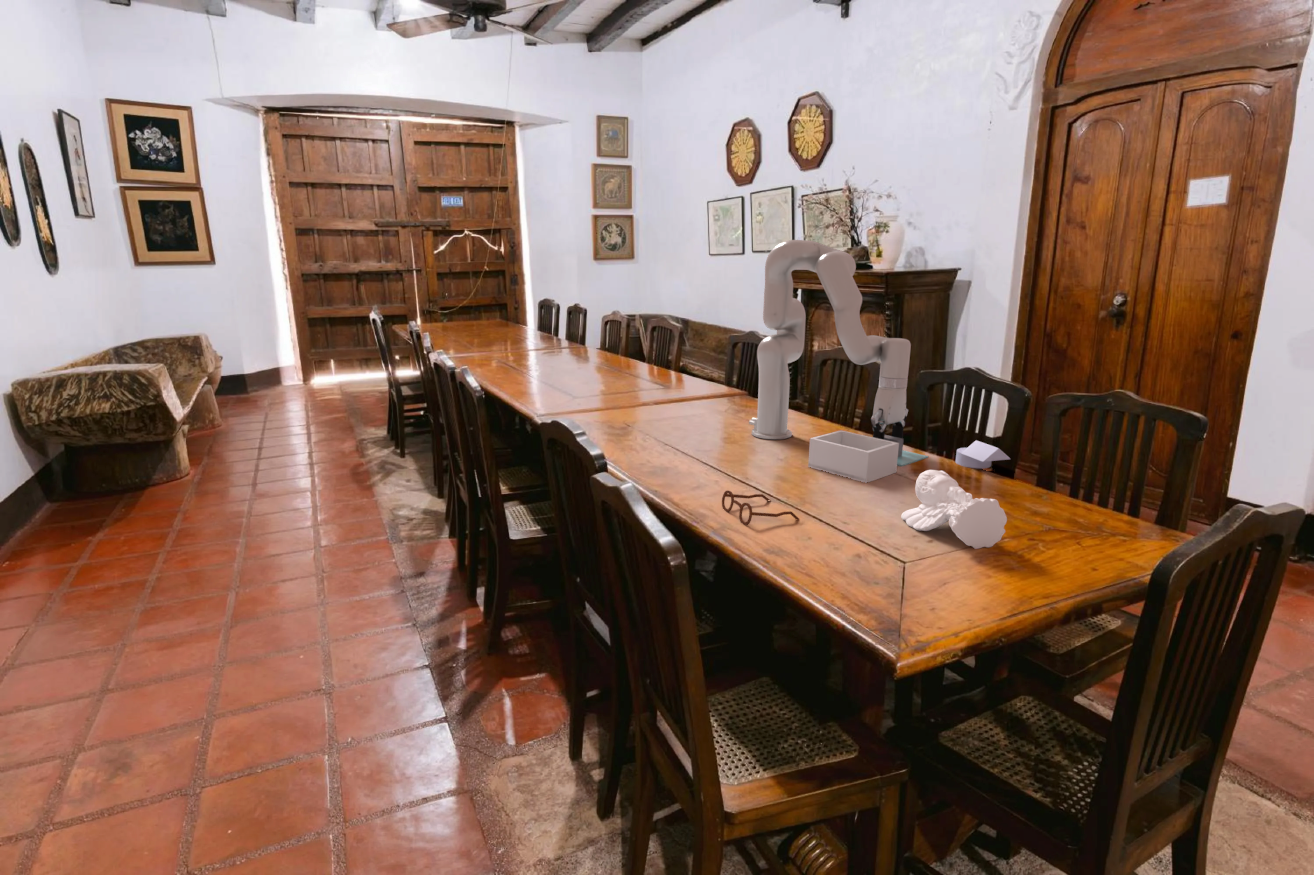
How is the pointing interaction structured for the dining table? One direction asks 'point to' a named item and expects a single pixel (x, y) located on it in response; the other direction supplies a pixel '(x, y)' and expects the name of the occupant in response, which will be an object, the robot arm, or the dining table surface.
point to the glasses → (749, 506)
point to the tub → (853, 455)
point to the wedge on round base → (979, 455)
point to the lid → (904, 452)
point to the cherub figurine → (955, 511)
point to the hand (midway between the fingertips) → (887, 442)
